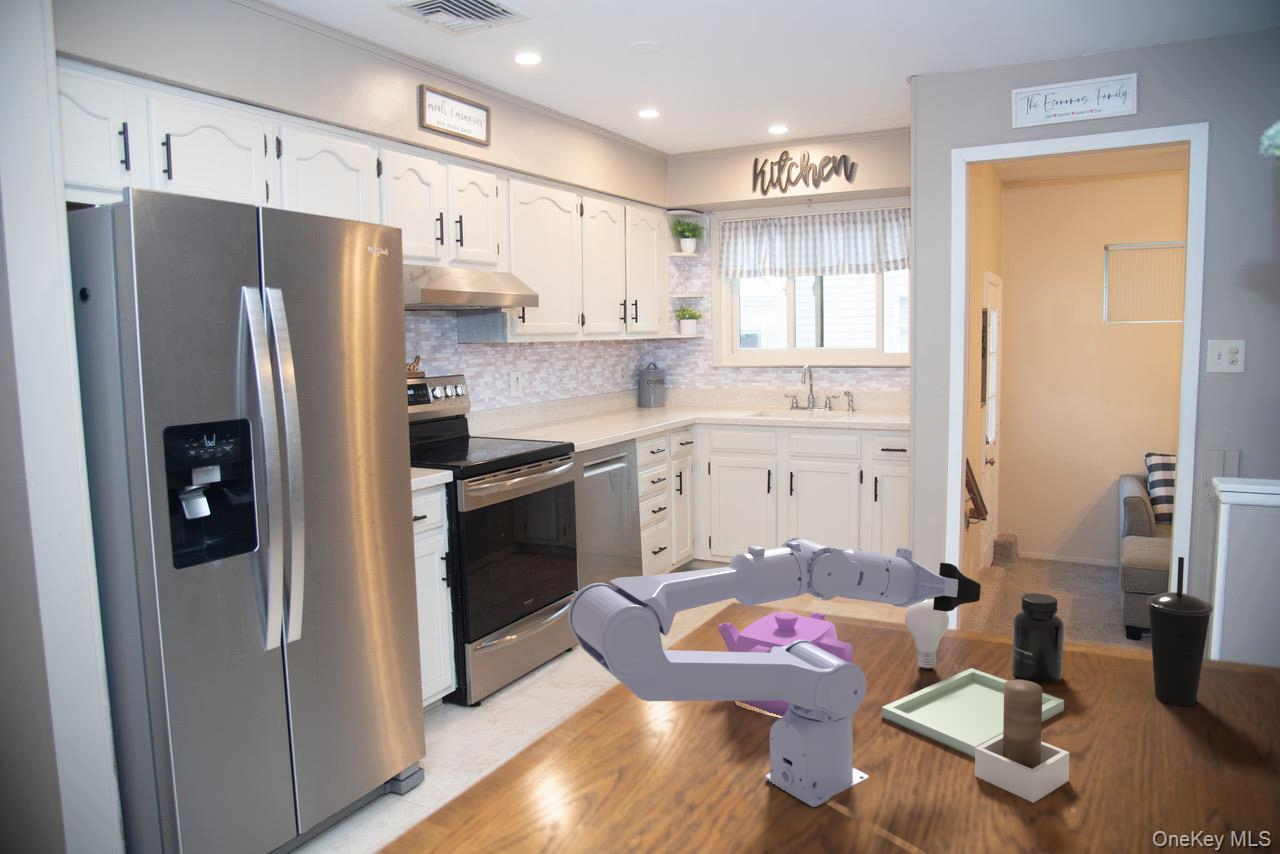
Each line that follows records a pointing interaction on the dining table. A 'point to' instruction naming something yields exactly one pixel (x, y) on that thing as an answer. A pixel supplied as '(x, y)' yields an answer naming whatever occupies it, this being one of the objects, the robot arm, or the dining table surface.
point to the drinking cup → (1178, 642)
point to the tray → (960, 710)
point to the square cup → (1022, 770)
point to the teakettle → (784, 642)
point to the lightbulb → (926, 630)
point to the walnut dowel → (1022, 722)
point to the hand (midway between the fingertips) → (953, 589)
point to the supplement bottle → (1038, 640)
